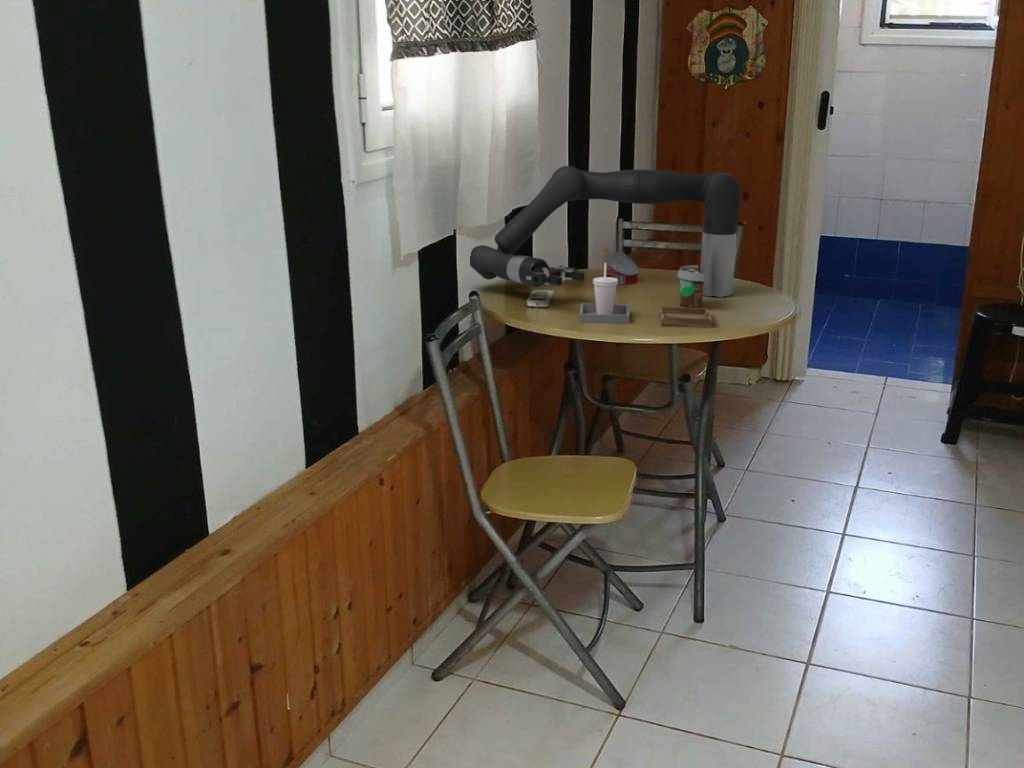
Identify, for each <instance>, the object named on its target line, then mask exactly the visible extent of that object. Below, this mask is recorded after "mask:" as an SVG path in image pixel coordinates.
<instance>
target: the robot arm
mask: <svg viewBox="0 0 1024 768" xmlns="http://www.w3.org/2000/svg"><path fill="white" fill-rule="evenodd" d="M583 200H607V201H613V202H617V203H619V202H620V203H626V204H639V205H640V204H641V205H662V204H669V203H676V202H677V203H679V202H685V201H686V202H696V203H703V204H704V215H703V217H704V218H703V222H702V237H701V250H700V251H701V257H700V268H699V269H700V270H699V271H701V273H704V284H703V296H705V297H711V296H716V297H715V298H718V297H719V298H723V297H724V296H726V297H730V295H731V296H733V289H734V277H735V264H736V263H735V260H736V248H737V247H736V246H737V231H738V224H739V221H740V220H739V218H740V208H741V185H740V182H739V181H738V180H737V178H735V176H733V175H732V174H730V173H728V172H723V171H722V172H721V171H719V172H709V173H708V172H707V173H706V172H705V173H680V172H676V171H675V172H674V171H665V170H655V169H624V170H622V169H621V170H615V171H609V172H608V171H607V172H606V171H605V172H599V171H598V172H596V171H589V170H583V169H582V170H581V169H578V168H576V167H574V166H572V165H563V166H561V167H559V168H557V169H556V170H555V171H554V172H553V173H552V175H551V177H550V178H549V180H548V181H547V182H546V184H545V185H544V187H543V188H542V189H541V190H540V191H539V193H538V194H537V195H536V196H535V197H534V198H533V199H532V200H531V202H529V203H528V204H527V205H526V206H525V207H524V208H523V209H522V210H521V211H519V213H517V214H516V215H515V216H514V217H513V218H512V219H511V220H509V222H508V223H507V224H505V226H503V227H502V228H501V229H500V230H499V231H498V232H497V233H496V234H495V236H494V242H495V243H496V245H497V248H493V247H491V246H488V245H477V246H475V247H473V248H472V249H473V250H472V249H471V250H472V252H471V256H470V265H469V266H470V267H471V268H472V269H473V270H474V271H475V272H476V273H478V274H479V276H481V277H482V278H483V279H484V280H493V279H495V278H497V277H498V278H500V279H502V280H507V281H510V282H514V283H517V284H522V285H525V286H531V287H536V288H537V287H538V288H539V287H542V286H543V285H546V286H549V285H551V286H552V285H553V286H558V287H562V286H563V282H564V281H565V280H571V281H578V282H584V280H585V273H584V272H583V271H582V272H581V271H578V268H575V267H569V266H563V265H558V266H557V267H556V266H552V265H551V266H550V265H548V262H547V261H545V259H543V258H539V257H538V258H537V257H532V256H527V255H517V254H514V253H515V252H516V251H518V250H519V248H520V247H522V245H523V244H524V243H525V242H527V240H528V239H530V237H531V236H532V235H533V234H535V232H536V231H537V230H538V228H539V227H541V225H542V224H543V223H544V221H546V219H548V218H549V217H550V215H551V214H553V213H554V212H555V211H556V210H557V209H558V208H560V207H561V206H563V205H564V204H566V203H568V202H570V201H571V202H572V201H583Z"/></svg>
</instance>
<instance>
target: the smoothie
mask: <svg viewBox="0 0 1024 768" xmlns="http://www.w3.org/2000/svg"><path fill="white" fill-rule="evenodd" d="M607 265H608V262H604V266H603V267H604V269H603V276H599V277H594V278H592V284H593V286H594V287H593V288H594V298H595V304H596V311H597V312H596V314H613V313H614V312H613V306H614V304H615V299H616V293H617V286H618V285H617V284H618V279H616V278H611V277H606V270H608V269H607V267H608V266H607Z"/></svg>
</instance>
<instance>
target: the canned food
mask: <svg viewBox="0 0 1024 768" xmlns="http://www.w3.org/2000/svg"><path fill="white" fill-rule="evenodd" d="M607 264H608V266H609V267H611V269H610V268H609V269H606V277H611V278H616V279H618V284H617V286H619V285H621V286H624V285H629V286H630V285H634V284H637V283H638V282H639V268H638V266H637V264H636V263H635V262H634V261H633V260H632V259H631V258H630V257H629V256H628V255H627V254H625V253H624V252H623V251H617V250H616V251H612V252H610V254H609V255H608V256H607Z"/></svg>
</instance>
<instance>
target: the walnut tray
mask: <svg viewBox="0 0 1024 768" xmlns="http://www.w3.org/2000/svg"><path fill="white" fill-rule="evenodd" d="M658 317H659V322H661V323H660V326H661V327H676V326H679V327H678V328H681V326H687V327H686V328H712V327H713V326H712V324H713V319H712V316H711V314H710V311H709V309H708V308H707V307H702V308H682V307H679V306H678V307H677V306H676V307H675V306H673V307H672V306H669V307H668V306H665V307H664V306H659V307H658Z"/></svg>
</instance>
